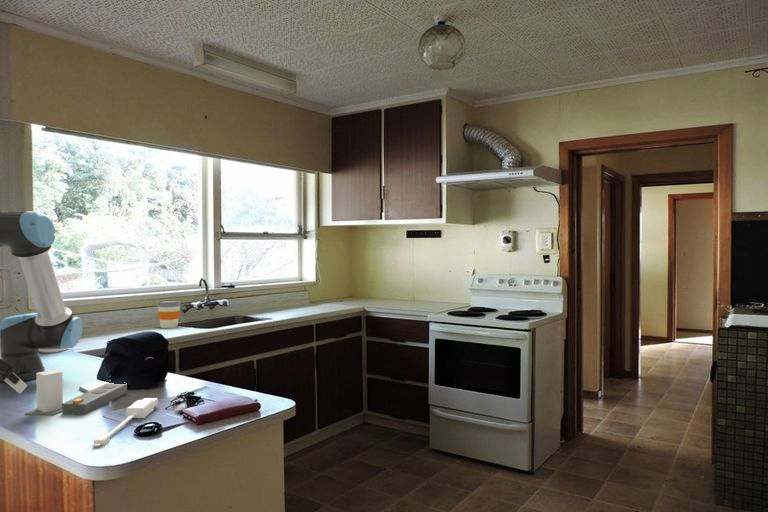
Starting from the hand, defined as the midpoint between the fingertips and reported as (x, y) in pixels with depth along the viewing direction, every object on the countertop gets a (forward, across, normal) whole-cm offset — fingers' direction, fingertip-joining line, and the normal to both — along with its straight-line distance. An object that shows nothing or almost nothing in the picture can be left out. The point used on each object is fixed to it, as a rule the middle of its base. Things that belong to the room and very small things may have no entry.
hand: (7, 389), depth 153 cm
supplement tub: (+43, -75, +54) cm, 102 cm away
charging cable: (+17, +33, 0) cm, 37 cm away
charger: (+13, +2, +3) cm, 14 cm away
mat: (+13, +2, +3) cm, 14 cm away
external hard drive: (+28, -4, +21) cm, 35 cm away
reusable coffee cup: (+86, -73, +108) cm, 156 cm away
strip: (+23, +7, +13) cm, 28 cm away
